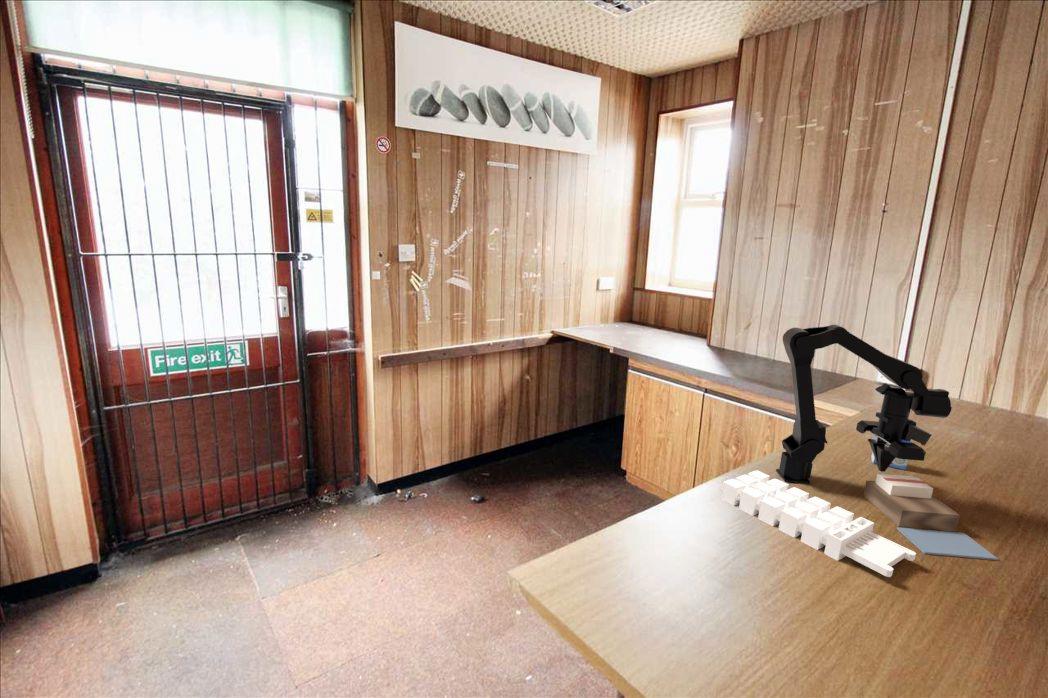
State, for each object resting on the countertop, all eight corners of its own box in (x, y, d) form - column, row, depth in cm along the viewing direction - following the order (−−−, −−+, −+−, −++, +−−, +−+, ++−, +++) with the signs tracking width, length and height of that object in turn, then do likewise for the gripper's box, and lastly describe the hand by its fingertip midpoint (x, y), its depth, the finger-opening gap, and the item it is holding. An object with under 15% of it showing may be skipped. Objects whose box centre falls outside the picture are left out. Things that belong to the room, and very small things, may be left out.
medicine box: (872, 463, 147) (878, 435, 145) (870, 458, 151) (876, 430, 149) (906, 470, 144) (912, 441, 142) (903, 465, 148) (910, 436, 146)
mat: (924, 553, 105) (924, 551, 105) (896, 528, 114) (897, 527, 113) (997, 560, 104) (997, 558, 104) (963, 534, 113) (964, 533, 113)
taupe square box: (898, 526, 114) (902, 510, 114) (863, 495, 128) (866, 480, 127) (955, 531, 114) (960, 515, 113) (914, 499, 127) (917, 484, 126)
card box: (890, 495, 120) (892, 484, 120) (875, 482, 126) (877, 473, 126) (930, 498, 120) (933, 488, 119) (913, 486, 126) (916, 476, 125)
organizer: (756, 470, 129) (921, 543, 100) (753, 487, 130) (915, 565, 101) (723, 481, 122) (890, 564, 93) (720, 500, 123) (884, 587, 94)
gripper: (957, 429, 118) (941, 491, 121) (905, 402, 136) (892, 457, 140) (905, 425, 119) (891, 487, 122) (860, 399, 137) (849, 454, 140)
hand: (881, 470), depth 131 cm, fingers closed
